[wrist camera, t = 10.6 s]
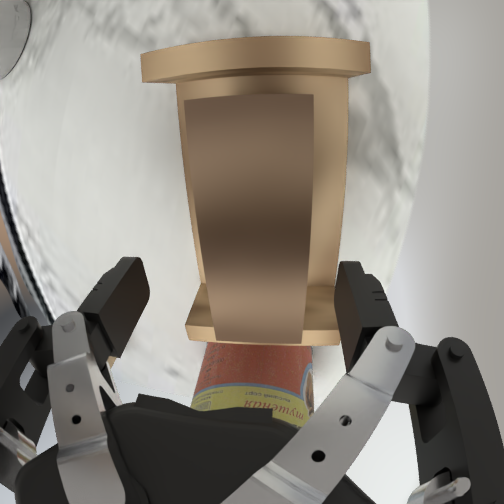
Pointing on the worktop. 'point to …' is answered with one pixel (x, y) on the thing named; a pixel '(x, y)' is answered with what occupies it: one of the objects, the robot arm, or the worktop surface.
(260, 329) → the brown wooden block
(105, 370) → the robot arm
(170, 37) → the worktop surface
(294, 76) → the peg frame
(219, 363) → the canned food
